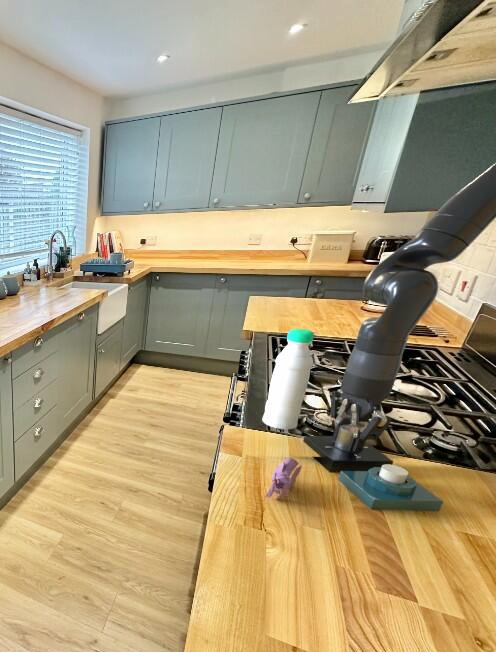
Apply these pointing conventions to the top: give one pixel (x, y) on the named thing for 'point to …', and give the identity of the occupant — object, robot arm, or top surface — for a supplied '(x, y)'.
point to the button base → (389, 492)
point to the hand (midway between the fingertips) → (346, 445)
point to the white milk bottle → (289, 381)
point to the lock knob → (344, 437)
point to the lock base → (344, 456)
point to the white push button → (393, 474)
